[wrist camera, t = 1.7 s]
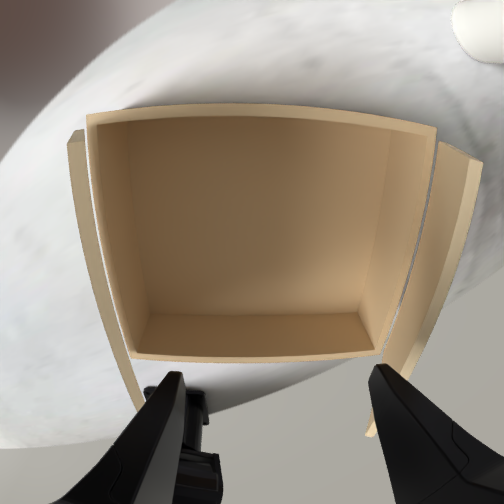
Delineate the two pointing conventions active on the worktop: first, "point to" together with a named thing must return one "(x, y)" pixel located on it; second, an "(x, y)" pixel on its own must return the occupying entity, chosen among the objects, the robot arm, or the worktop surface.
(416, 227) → the carton
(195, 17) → the worktop surface
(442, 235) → the flap
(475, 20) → the drinking glass
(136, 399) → the flap
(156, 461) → the robot arm
